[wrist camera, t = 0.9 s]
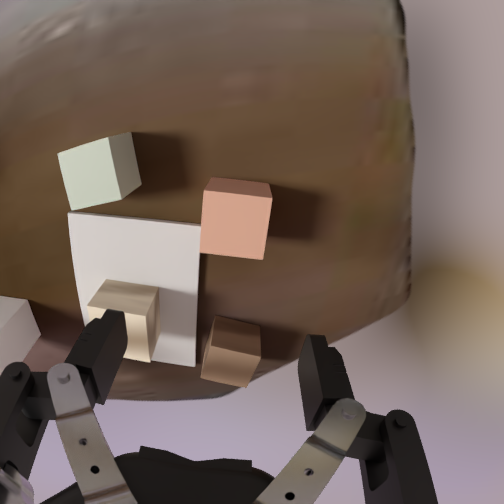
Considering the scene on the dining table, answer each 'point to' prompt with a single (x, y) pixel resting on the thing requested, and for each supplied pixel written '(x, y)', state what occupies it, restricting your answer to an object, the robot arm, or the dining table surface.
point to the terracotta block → (235, 218)
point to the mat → (143, 270)
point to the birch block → (131, 314)
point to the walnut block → (231, 352)
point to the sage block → (100, 171)
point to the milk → (16, 330)
